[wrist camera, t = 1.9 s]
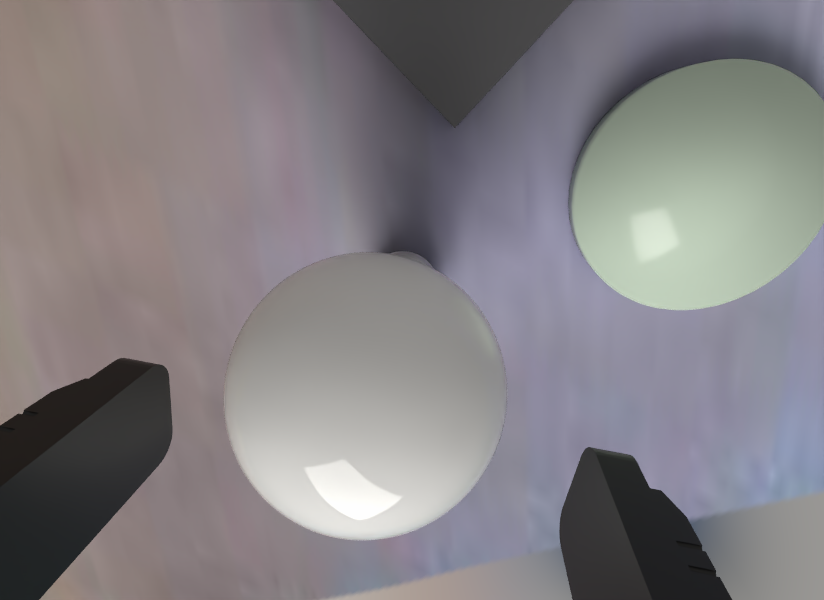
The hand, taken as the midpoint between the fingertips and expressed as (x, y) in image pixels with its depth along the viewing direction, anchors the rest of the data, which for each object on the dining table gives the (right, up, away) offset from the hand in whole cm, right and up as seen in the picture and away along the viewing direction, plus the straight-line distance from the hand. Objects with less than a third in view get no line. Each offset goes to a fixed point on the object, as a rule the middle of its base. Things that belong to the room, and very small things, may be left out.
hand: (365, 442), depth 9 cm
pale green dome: (+10, +6, +7) cm, 14 cm away
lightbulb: (+1, +4, +9) cm, 10 cm away
